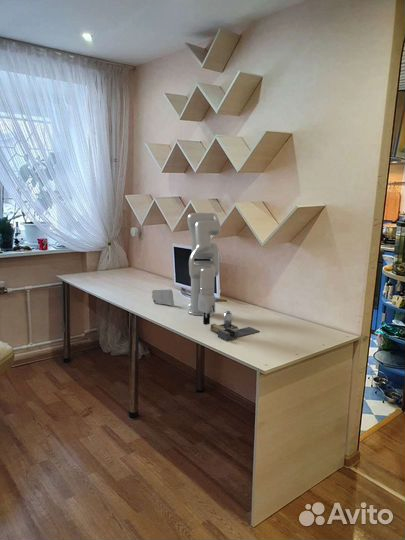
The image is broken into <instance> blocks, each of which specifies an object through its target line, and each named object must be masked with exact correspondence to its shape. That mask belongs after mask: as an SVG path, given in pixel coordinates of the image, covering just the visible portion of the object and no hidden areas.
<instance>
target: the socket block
mask: <svg viewBox="0 0 405 540" xmlns="http://www.w3.org/2000/svg"><path fill="white" fill-rule="evenodd" d="M236 330H237V329H232V328H229V327H227V328H226V331H224V330H222V329H219V330H218V332H217V338H218V339H221V340H223V341H225V342H229V341H233V340H236V339H238V337H237V335H238V331H236Z"/></svg>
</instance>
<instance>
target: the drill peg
mask: <svg viewBox="0 0 405 540" xmlns="http://www.w3.org/2000/svg"><path fill="white" fill-rule="evenodd" d="M232 318H233V317H232V312H231V311H230V310H226V311H225V312H224V313H223V324H224V326H223V327H225V328H227V327H229V328H230V327H232V326H231V324H232Z"/></svg>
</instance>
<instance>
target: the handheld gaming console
mask: <svg viewBox="0 0 405 540" xmlns="http://www.w3.org/2000/svg"><path fill="white" fill-rule="evenodd" d="M151 298H152V299H151V300H152V302H154V303H153V304H160V305H170V306H171V307H174V306H175V302H174V301H175V299H174V292H173V290H172V288H159V289H158V288H157V289H152V291H151Z"/></svg>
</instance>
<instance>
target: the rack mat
mask: <svg viewBox="0 0 405 540" xmlns="http://www.w3.org/2000/svg"><path fill="white" fill-rule="evenodd" d="M235 330H236V331H238V335H237V338H241V337H245V336H249V335H254V334H256V333H259V332H260V330H259V329H256V328H254V327H251V326H246V327H243V328H239V329H238V328H237V329H235Z"/></svg>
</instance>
